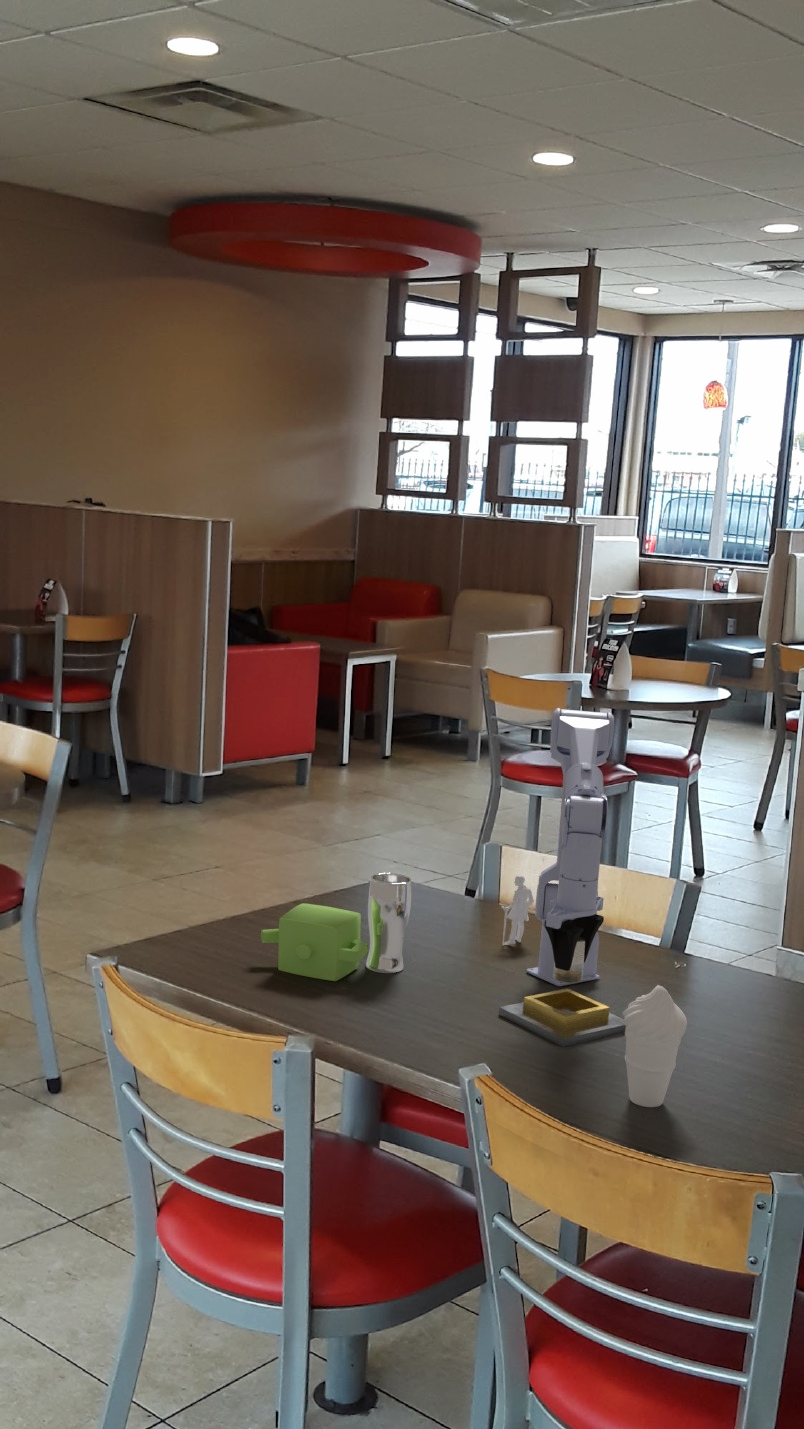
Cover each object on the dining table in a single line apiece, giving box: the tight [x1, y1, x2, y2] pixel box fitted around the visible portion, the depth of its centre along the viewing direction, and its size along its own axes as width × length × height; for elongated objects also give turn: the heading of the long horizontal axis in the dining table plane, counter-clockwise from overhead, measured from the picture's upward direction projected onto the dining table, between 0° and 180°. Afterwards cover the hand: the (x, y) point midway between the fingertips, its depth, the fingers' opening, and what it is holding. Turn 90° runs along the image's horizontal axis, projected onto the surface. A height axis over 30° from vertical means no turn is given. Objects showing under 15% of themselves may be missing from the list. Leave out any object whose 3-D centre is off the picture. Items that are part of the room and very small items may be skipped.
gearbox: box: [260, 902, 369, 982], centre depth 227 cm, size 18×10×10 cm, turn 67°
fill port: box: [498, 987, 626, 1048], centre depth 213 cm, size 14×14×3 cm
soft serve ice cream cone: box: [622, 984, 688, 1108], centre depth 185 cm, size 8×8×16 cm
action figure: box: [500, 874, 535, 947], centre depth 249 cm, size 6×4×12 cm, turn 133°
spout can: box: [553, 937, 585, 984], centre depth 211 cm, size 4×4×8 cm
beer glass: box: [365, 872, 412, 974], centre depth 231 cm, size 7×7×15 cm
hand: (570, 965), depth 212 cm, fingers closed on spout can, 4 cm apart
